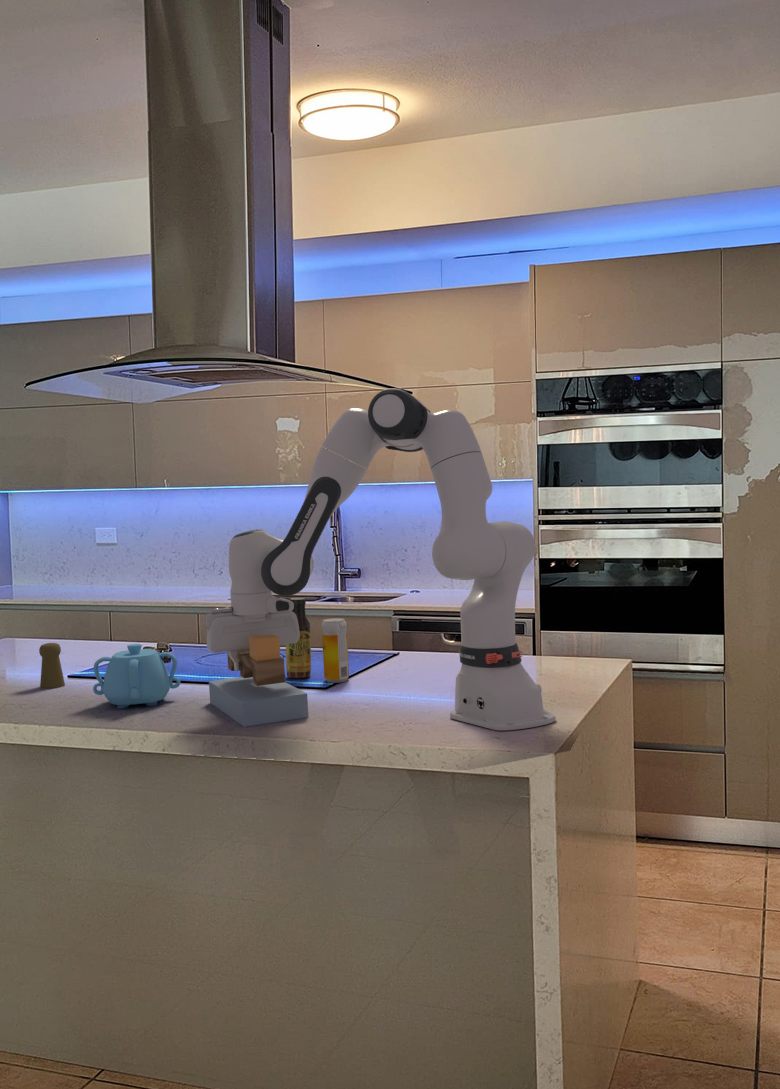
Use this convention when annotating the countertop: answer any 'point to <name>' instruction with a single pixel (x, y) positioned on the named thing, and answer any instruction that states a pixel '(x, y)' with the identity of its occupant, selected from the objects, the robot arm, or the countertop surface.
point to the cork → (51, 666)
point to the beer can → (335, 650)
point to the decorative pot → (136, 677)
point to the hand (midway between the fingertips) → (255, 668)
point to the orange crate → (264, 647)
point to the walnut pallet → (259, 668)
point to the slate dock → (257, 701)
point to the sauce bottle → (299, 645)
